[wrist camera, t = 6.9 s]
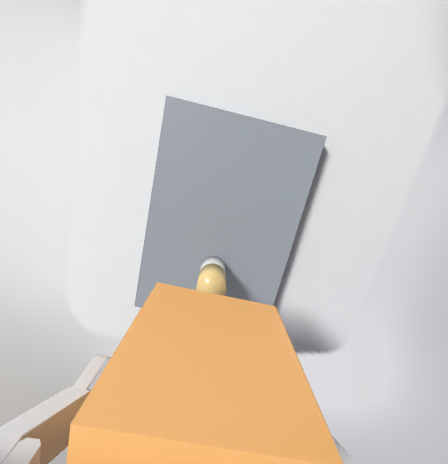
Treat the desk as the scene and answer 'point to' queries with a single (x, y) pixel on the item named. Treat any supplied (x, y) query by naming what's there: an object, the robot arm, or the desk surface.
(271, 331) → the amber rectangular brick
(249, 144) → the plate
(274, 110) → the desk surface
